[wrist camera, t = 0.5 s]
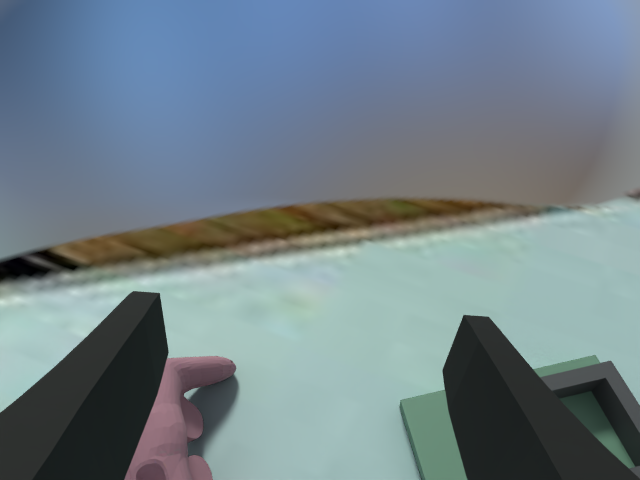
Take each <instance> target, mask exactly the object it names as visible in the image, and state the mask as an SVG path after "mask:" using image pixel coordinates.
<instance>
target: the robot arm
mask: <svg viewBox="0 0 640 480" xmlns="http://www.w3.org/2000/svg"><path fill="white" fill-rule="evenodd" d="M167 356H168V345H167V338H166V332H165V325H164V319H163V312H162V306H161V299H160V293H151V292H137V291H133V292H131V293H130V294H129V295H128V296H127V297H126V298H125V299H124V300H123V301H122V302H121V303H120V304H119V305H118V306H117V307H116V308H115V309H114V310H113V311H112V312H111V313H110V314H109V315H108V316H107V317H106V318H105V319H104V320H103V321H102V322H101V323H100V324H99V325H98V326H97V327H96V328H95V329H94V330H93V331H92V332H91V333H90V334H89V335H88V336H87V337H86V338H85V339H84V340H83V341H82V342H81V343H80V344H79V345H77V346H76V347H75V348H74V349H73V350H72V351H71V352H70V353H69V354H68V355H67V356H66V357H65V358H64V359H63V360H62V361H60V362H59V363H58V364H57V365H56V366H55V367H54V368H53V369H52V370H50V371H49V372H48V373H47V374H46V375H45V376H44V377H42V378H41V379H40V380H39V381H38V382H37V383H35V384H34V385H33V386H32V387H31V388H30V389H29V390H27V391H26V392H25V393H24V394H23V395H22V396H20V397H19V398H18V399H17V400H16V401H14V402H13V403H12V404H11V405H9V406H8V407H7V408H6V409H4V410H3V411H2V412H1V413H0V480H124V479H125V476H126V474H127V471H128V469H129V466H130V464H131V461H132V459H133V456H134V454H135V451H136V448H137V446H138V443H139V441H140V438H141V436H142V433H143V431H144V428H145V426H146V423H147V420H148V418H149V415H150V413H151V410H152V407H153V405H154V402H155V400H156V397H157V394H158V391H159V387H160V384H161V380H162V376H163V372H164V368H165V364H166V360H167ZM443 378H444V385H445V393H446V399H447V405H448V411H449V415H450V419H451V423H452V426H453V430H454V434H455V438H456V441H457V445H458V449H459V452H460V456H461V459H462V463H463V467H464V470H465V474H466V477H467V480H640V478H639V477H638V476H636V475H635V474H634V473H633V472H632V471H631V470H630V469H629V468H628V467H627V466H626V465H625V464H623V463H622V462H621V461H620V460H619V459H618V458H617V457H616V456H615V455H614V454H613V453H611V452H610V451H609V450H608V449H607V448H606V447H605V446H604V445H603V444H602V443H601V442H600V441H599V440H598V439H597V438H596V437H595V436H594V435H593V434H592V433H591V432H590V431H589V430H588V429H587V428H586V427H585V426H584V425H583V424H582V423H581V422H580V421H579V420H578V418H577V417H576V416H575V415H574V414H573V413H572V412H571V411H570V410H569V409H568V408H567V407H566V406H565V405H564V404H563V403H562V402H561V400H560V399H559V398H558V397H557V396H556V395H555V394H554V393H553V392H552V391H551V389H550V388H549V387H548V386H547V385H546V384H545V383H544V381H543V380H542V379H541V378H540V377H539V376H538V375H537V373H536V372H535V371H534V370H533V369H532V368H531V367H530V365H529V364H528V363H527V362H526V361H525V359H524V358H523V357H522V356H521V355H520V353H519V352H518V351H517V350H516V349H515V348H514V346H513V345H512V344H511V343H510V342H509V340H508V339H507V338H506V337H505V336H504V334H503V333H502V332H501V331H500V330H499V328H498V327H497V326H496V325H495V324H494V322H493V321H492V320H491V319H490V318H489V317H483V316H470V315H464V316H463V318H462V321H461V323H460V326H459V329H458V331H457V334H456V336H455V339H454V342H453V344H452V347H451V349H450V352H449V355H448V357H447V360H446V362H445V365H444V368H443Z"/></svg>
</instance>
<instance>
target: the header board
mask: <svg viewBox="0 0 640 480" xmlns="http://www.w3.org/2000/svg"><path fill="white" fill-rule="evenodd" d="M533 370H534V371H535V372H536V373H537V375H538V376H539V377H540V378H541V379H542V380H543V381H544V383H545V384H546V385H547V386H548V387H549V388H550V389H551V391H552V392H553V393H554V394H555V395H556V396H557V397H558V398H559V399H560V400H561V402H562V403H563V404H564V405H565V406H566V407H567V408H568V409H569V410H570V411H571V412H572V413H573V414H574V415H575V416H576V417H577V418H578V420H579V421H580V422H581V423H582V424H583V425H584V426H585V427H586V428H587V429H588V430H589V431H590V432H591V433H592V434H593V435H594V436H595V437H596V438H597V439H598V440H599V441H600V442H601V443H602V444H603V445H604V446H605V447H606V448H607V449H608V450H609V451H610V452H611V453H613V454H614V455H615V456H616V457H617V458H618V459H619V460H620V461H621V462H622V463H623V464H625V465H626V466H627V467H628V468H629V469H630V470H631V471H632V472H633V473H634V474H635V475H636V476H638V477H639V478H640V405H639V404H638V402H637V401H636V399H635V397H634V396H633V394H632V393H631V391H630V390H629V388H628V386H627V385H626V383H625V382H624V380H623V379H622V377H621V375H620V374H619V372H618V371H617V369H616V368H615V366H614V364H613V363H612V361H607V362H603V363H600V362H599V360H598V358H597V357H596V355H593V356H589V357H584V358H580V359H576V360H571V361H567V362H563V363H558V364H554V365H550V366H546V367H541V368H537V369H533ZM400 410H401V414H402V417H403V420H404V423H405V427H406V430H407V433H408V436H409V440H410V443H411V446H412V449H413V453H414V456H415V459H416V462H417V465H418V469H419V472H420V475H421V478H422V480H467V477H466V474H465V470H464V467H463V463H462V459H461V456H460V452H459V449H458V445H457V441H456V438H455V434H454V430H453V426H452V423H451V419H450V415H449V411H448V405H447V399H446V393H445V390H442V391H438V392H434V393H429V394H425V395H421V396H416V397H412V398H408V399H403V400H401V401H400Z"/></svg>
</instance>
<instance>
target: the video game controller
mask: <svg viewBox="0 0 640 480" xmlns="http://www.w3.org/2000/svg"><path fill="white" fill-rule="evenodd" d="M235 371H236V365H235V364H234V363H233V361H231V360H229V359H227V358H224V357H218V356H207V357H183V358H168V359H167V360H166V364H165V368H164V372H163V376H162V380H161V384H160V387H159V391H158V394H157V397H156V400H155V402H154V405H153V407H152V410H151V413H150V415H149V418H148V420H147V423H146V426H145V428H144V431H143V433H142V436H141V438H140V441H139V443H138V446H137V448H136V451H135V454H134V456H133V459H132V461H131V464H130V466H129V469H128V471H127V474H126V476H125V479H124V480H213V479H212V474H211V470H210V468H209V466H208V464H207V463H206V461H205V460H204V459H203V458H202V457H200V456H197V455H192V456H190V457H188V446H187V443H188V442H190V441H193V440H195V439H197V438H198V437H200V436H201V434H202V432H203V418H202V415H201V413H200V411H199V410H198V408H197V407H196V406H195V405H194V404H192V403H191V402H190V401H188V400H187V399H186V398H185V397H184V393H185V392H187V391H189V390H191V389H193V388H198V387H202V386H207V385H211V384H214V383H217V382H220V381H223V380H225V379H227V378H228V377H231V376H232V375H233V374H234V372H235Z"/></svg>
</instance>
